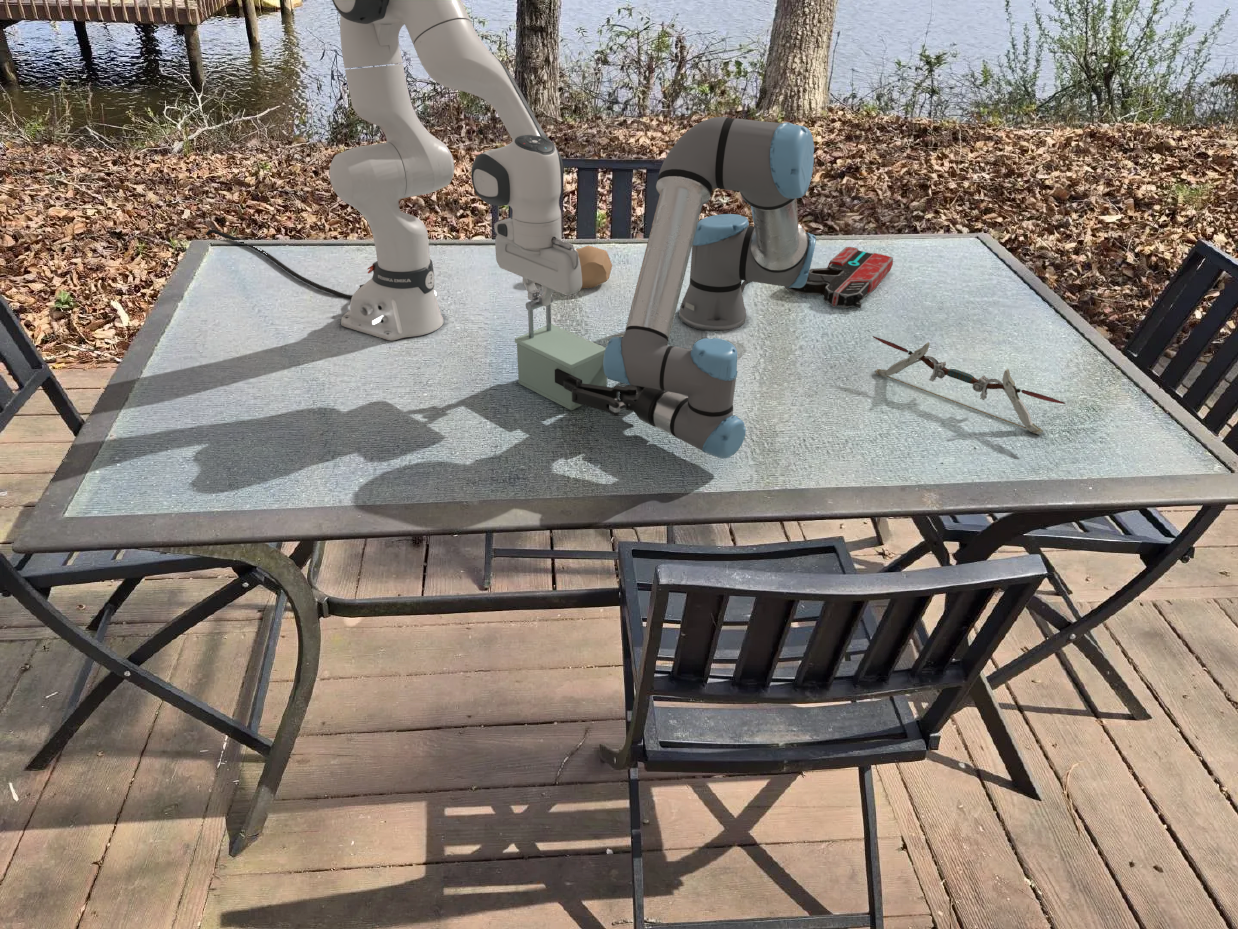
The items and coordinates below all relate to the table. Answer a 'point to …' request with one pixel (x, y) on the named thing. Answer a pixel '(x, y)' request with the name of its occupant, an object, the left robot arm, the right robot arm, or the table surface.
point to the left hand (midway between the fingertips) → (539, 302)
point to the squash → (594, 266)
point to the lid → (557, 341)
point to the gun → (847, 277)
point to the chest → (541, 375)
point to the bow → (978, 385)
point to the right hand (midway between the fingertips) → (575, 366)
